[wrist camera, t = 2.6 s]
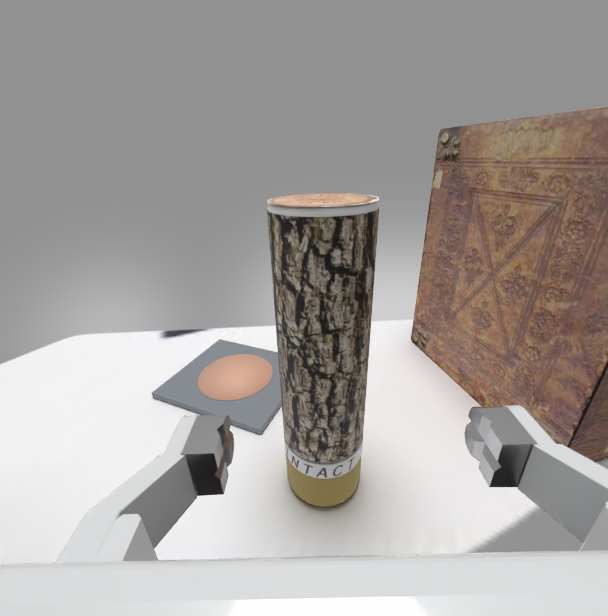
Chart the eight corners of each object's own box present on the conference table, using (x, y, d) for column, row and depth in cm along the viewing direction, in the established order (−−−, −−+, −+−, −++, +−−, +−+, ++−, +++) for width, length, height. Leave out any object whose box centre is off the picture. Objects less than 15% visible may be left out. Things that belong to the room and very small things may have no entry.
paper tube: (295, 442, 34) (282, 193, 23) (360, 450, 32) (378, 192, 22) (279, 504, 28) (250, 207, 17) (358, 518, 26) (381, 206, 16)
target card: (153, 397, 41) (151, 392, 40) (220, 343, 52) (219, 338, 52) (261, 434, 35) (260, 428, 34) (310, 364, 46) (309, 359, 46)
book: (409, 339, 52) (438, 129, 39) (458, 331, 53) (501, 128, 41) (557, 476, 29) (740, 87, 16) (632, 454, 31) (849, 89, 18)
